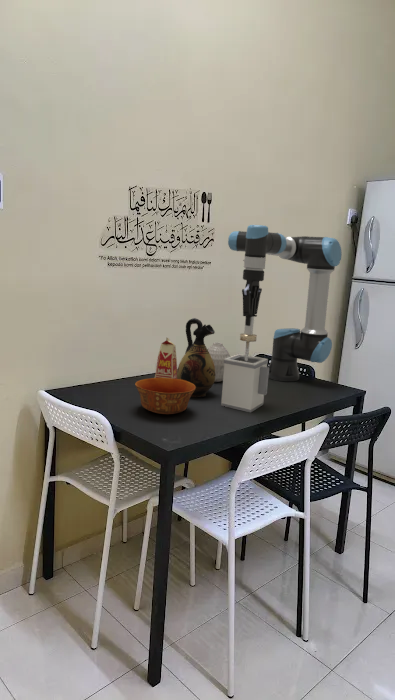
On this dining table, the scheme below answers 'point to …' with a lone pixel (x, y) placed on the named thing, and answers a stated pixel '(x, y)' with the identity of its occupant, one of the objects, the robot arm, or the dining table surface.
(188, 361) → the ceramic jug
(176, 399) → the bowl
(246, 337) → the plunger
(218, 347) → the vase
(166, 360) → the milk carton
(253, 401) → the box
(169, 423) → the dining table surface
